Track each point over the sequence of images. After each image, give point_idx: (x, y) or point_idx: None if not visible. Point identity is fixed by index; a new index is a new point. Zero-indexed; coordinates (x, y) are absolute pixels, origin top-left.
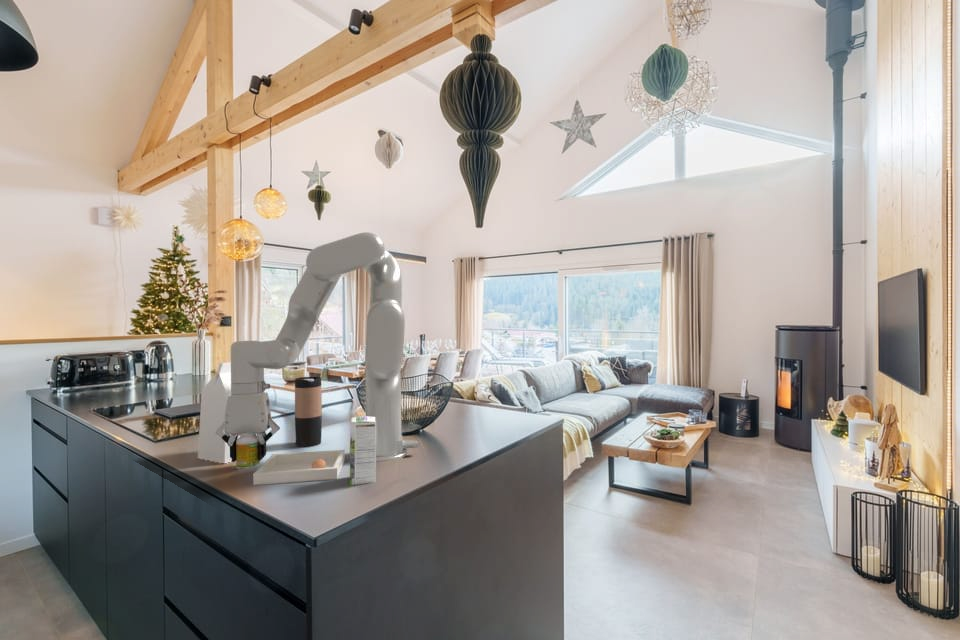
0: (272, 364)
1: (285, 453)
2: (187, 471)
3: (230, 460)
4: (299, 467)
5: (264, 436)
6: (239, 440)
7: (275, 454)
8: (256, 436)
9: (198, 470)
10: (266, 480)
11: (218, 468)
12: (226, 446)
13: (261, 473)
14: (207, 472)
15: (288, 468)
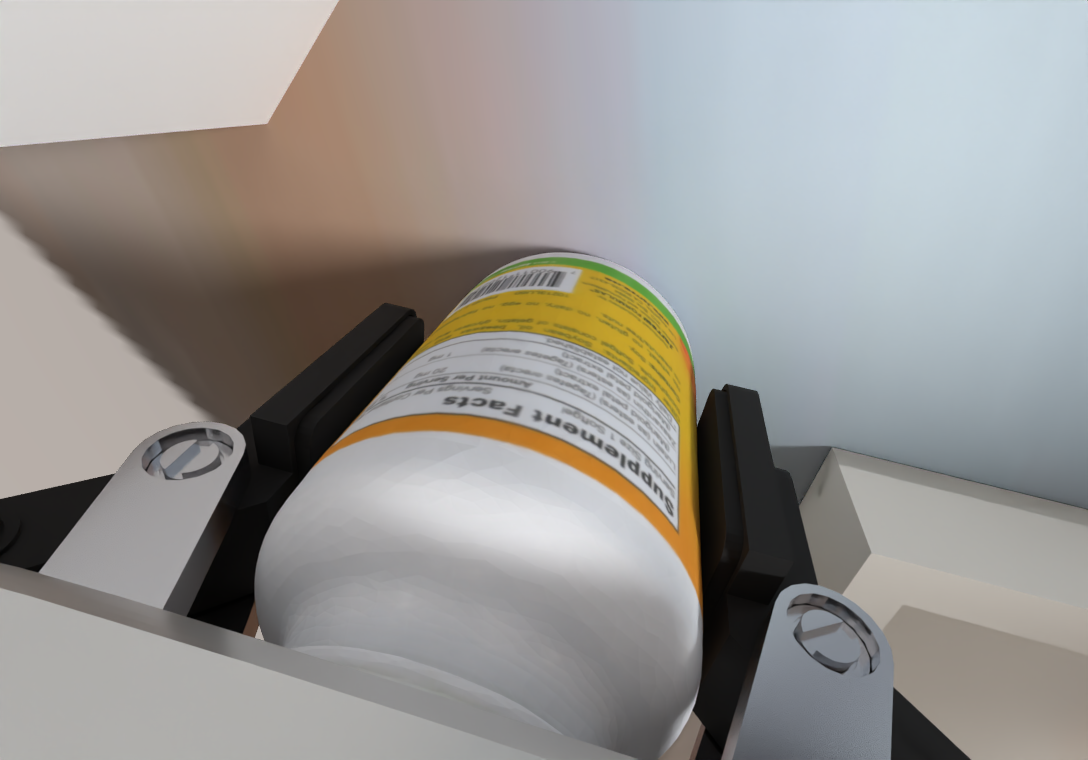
0: None
1: (1062, 607)
2: (37, 249)
3: (289, 58)
4: (1072, 691)
5: (820, 735)
6: None
7: (907, 583)
8: (627, 754)
9: (118, 261)
10: None
11: (277, 277)
12: (57, 116)
13: None
14: (237, 360)
15: (957, 666)
